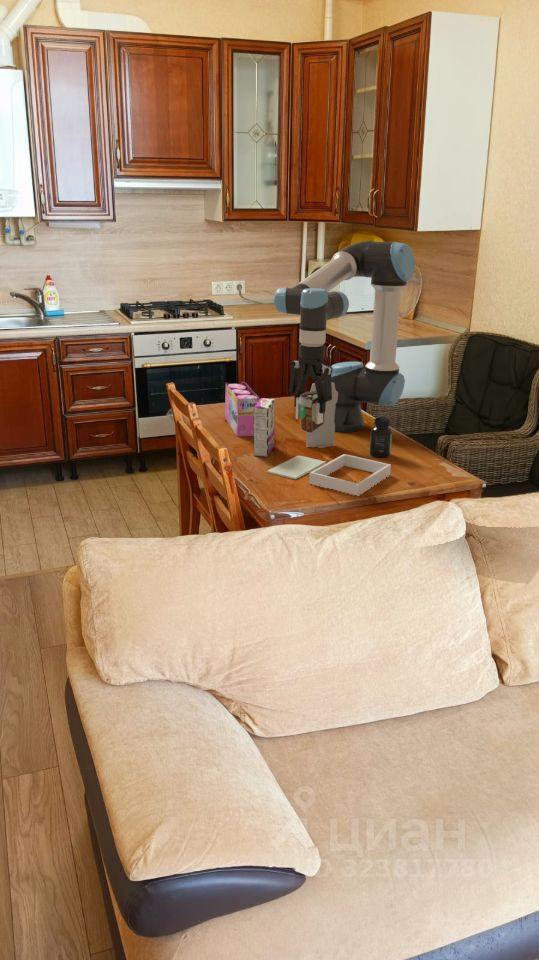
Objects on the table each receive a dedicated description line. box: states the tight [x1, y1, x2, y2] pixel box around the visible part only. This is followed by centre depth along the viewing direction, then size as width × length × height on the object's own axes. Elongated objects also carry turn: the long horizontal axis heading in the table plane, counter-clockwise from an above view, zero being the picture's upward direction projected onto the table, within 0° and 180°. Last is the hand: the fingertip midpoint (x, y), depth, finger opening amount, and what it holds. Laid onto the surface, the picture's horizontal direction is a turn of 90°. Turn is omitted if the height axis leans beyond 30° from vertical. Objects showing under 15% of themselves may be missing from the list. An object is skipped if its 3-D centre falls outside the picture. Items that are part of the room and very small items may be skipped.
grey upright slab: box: [306, 382, 338, 449], centre depth 255 cm, size 11×4×22 cm, turn 106°
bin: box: [308, 453, 392, 497], centre depth 230 cm, size 21×16×4 cm
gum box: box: [224, 381, 261, 437], centre depth 276 cm, size 24×8×14 cm, turn 14°
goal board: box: [266, 455, 326, 480], centre depth 239 cm, size 18×10×1 cm, turn 146°
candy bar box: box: [253, 397, 276, 458], centre depth 250 cm, size 11×5×16 cm, turn 168°
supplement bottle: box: [368, 417, 393, 459], centre depth 250 cm, size 7×7×12 cm
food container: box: [298, 390, 325, 433], centre depth 231 cm, size 12×6×10 cm, turn 154°
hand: (309, 420), depth 232 cm, fingers closed on food container, 7 cm apart
